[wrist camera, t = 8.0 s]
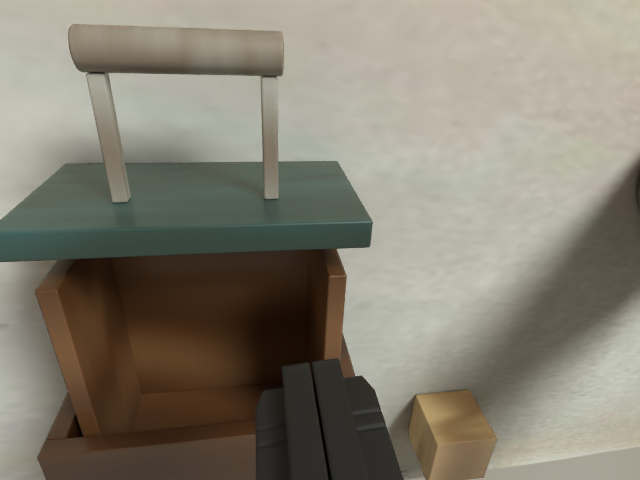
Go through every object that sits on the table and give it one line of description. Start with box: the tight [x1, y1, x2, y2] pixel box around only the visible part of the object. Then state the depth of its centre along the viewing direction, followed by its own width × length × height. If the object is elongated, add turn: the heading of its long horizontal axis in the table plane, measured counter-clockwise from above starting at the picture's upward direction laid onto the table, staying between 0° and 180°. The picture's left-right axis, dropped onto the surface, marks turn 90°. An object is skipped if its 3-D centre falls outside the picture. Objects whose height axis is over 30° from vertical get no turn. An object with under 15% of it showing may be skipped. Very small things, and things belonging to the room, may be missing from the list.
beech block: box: [408, 390, 497, 480], centre depth 34 cm, size 5×5×5 cm
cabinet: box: [37, 332, 355, 480], centre depth 28 cm, size 17×15×9 cm
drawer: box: [0, 24, 373, 437], centre depth 21 cm, size 22×14×8 cm, turn 178°
